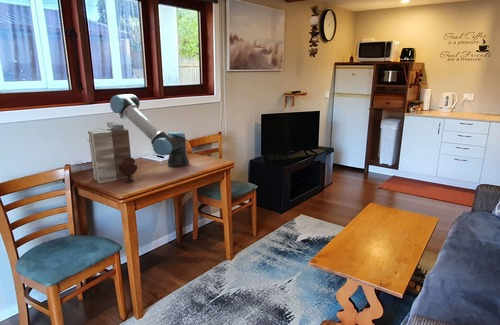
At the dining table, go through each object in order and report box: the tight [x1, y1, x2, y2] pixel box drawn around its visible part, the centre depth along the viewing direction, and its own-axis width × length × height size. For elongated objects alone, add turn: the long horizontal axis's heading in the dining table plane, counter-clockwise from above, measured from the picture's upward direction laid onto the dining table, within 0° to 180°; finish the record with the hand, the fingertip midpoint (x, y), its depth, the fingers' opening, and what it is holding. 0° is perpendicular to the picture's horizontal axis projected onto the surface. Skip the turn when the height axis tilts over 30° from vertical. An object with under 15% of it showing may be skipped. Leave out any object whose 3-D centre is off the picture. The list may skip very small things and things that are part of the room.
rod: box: [106, 121, 125, 131], centre depth 213 cm, size 20×5×3 cm, turn 38°
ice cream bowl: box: [118, 156, 138, 184], centre depth 205 cm, size 11×11×15 cm
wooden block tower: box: [88, 127, 134, 184], centre depth 210 cm, size 12×20×30 cm, turn 128°
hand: (107, 130), depth 226 cm, fingers open, 13 cm apart
